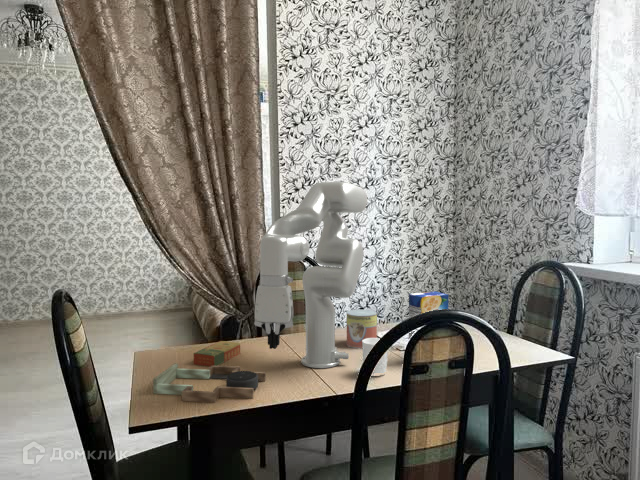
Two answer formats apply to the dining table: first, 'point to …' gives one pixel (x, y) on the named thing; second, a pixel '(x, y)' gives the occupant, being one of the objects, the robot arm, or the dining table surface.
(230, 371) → the wooden flat frame
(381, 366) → the white cup
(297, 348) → the dining table surface
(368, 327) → the canned food
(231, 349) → the carton
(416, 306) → the beverage box
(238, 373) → the smart speaker
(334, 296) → the robot arm
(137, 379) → the dining table surface
